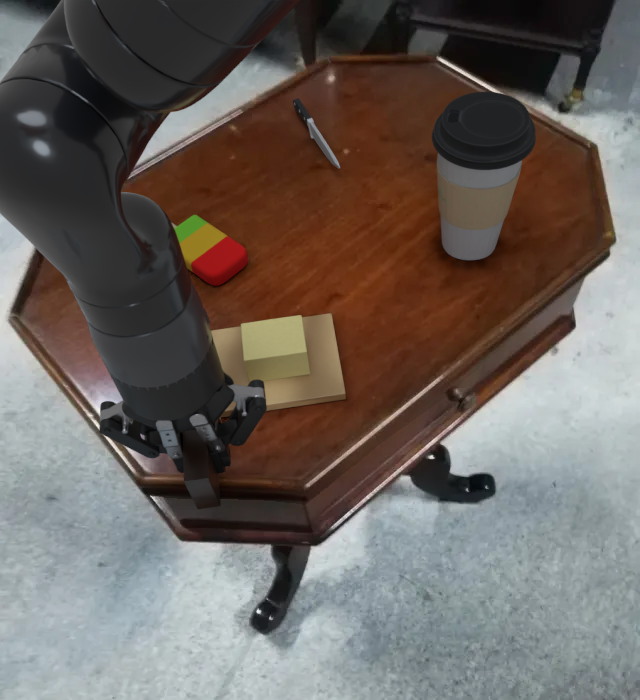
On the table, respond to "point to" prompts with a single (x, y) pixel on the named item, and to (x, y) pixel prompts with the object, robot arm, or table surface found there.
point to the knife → (315, 132)
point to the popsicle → (209, 251)
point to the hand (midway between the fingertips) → (206, 465)
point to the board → (298, 389)
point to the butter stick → (275, 348)
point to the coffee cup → (479, 168)
